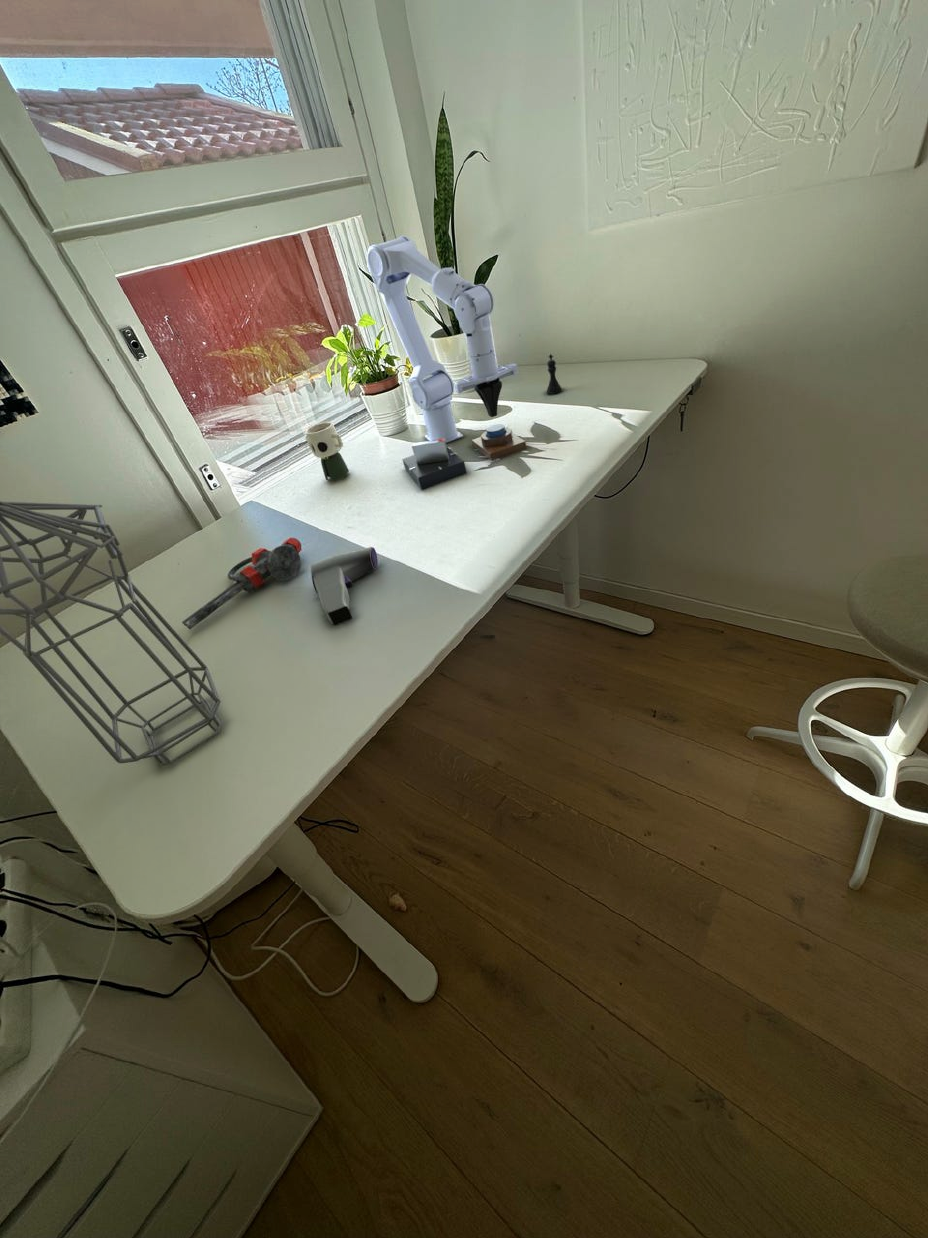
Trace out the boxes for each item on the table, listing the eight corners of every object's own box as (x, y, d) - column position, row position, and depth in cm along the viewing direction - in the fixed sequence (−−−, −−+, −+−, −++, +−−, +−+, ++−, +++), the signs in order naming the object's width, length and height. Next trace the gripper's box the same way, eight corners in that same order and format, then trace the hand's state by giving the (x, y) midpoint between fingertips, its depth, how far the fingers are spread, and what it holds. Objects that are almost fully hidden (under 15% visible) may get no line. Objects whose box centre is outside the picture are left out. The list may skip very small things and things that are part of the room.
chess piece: (553, 388, 150) (550, 351, 144) (565, 389, 147) (562, 351, 141) (543, 393, 149) (539, 356, 142) (554, 395, 146) (550, 357, 139)
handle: (417, 464, 120) (411, 445, 117) (418, 461, 121) (413, 442, 118) (448, 460, 118) (443, 440, 115) (449, 457, 119) (444, 437, 116)
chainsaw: (284, 551, 111) (321, 557, 101) (178, 628, 98) (208, 644, 88) (268, 526, 108) (304, 529, 97) (155, 602, 95) (183, 615, 85)
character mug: (313, 483, 133) (292, 434, 125) (330, 470, 138) (311, 422, 130) (346, 484, 128) (326, 432, 120) (362, 471, 133) (344, 420, 125)
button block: (472, 446, 129) (470, 432, 127) (505, 434, 131) (503, 420, 128) (491, 460, 120) (488, 446, 118) (526, 448, 121) (524, 433, 119)
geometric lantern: (136, 805, 63) (-128, 572, 42) (122, 731, 74) (-92, 517, 53) (256, 731, 69) (78, 490, 47) (226, 672, 80) (71, 456, 58)
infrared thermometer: (329, 632, 84) (315, 582, 94) (399, 604, 85) (378, 558, 96) (318, 611, 80) (305, 562, 91) (392, 583, 82) (370, 538, 93)
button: (484, 435, 125) (483, 428, 124) (501, 429, 125) (500, 422, 124) (491, 440, 121) (490, 432, 120) (508, 434, 122) (507, 426, 121)
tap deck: (404, 471, 127) (400, 458, 125) (448, 455, 128) (445, 442, 126) (420, 490, 116) (416, 477, 114) (468, 473, 118) (465, 460, 116)
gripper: (457, 365, 108) (470, 429, 116) (519, 344, 110) (528, 409, 119) (446, 360, 113) (459, 421, 122) (506, 340, 116) (515, 402, 124)
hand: (492, 415), depth 121 cm, fingers closed
